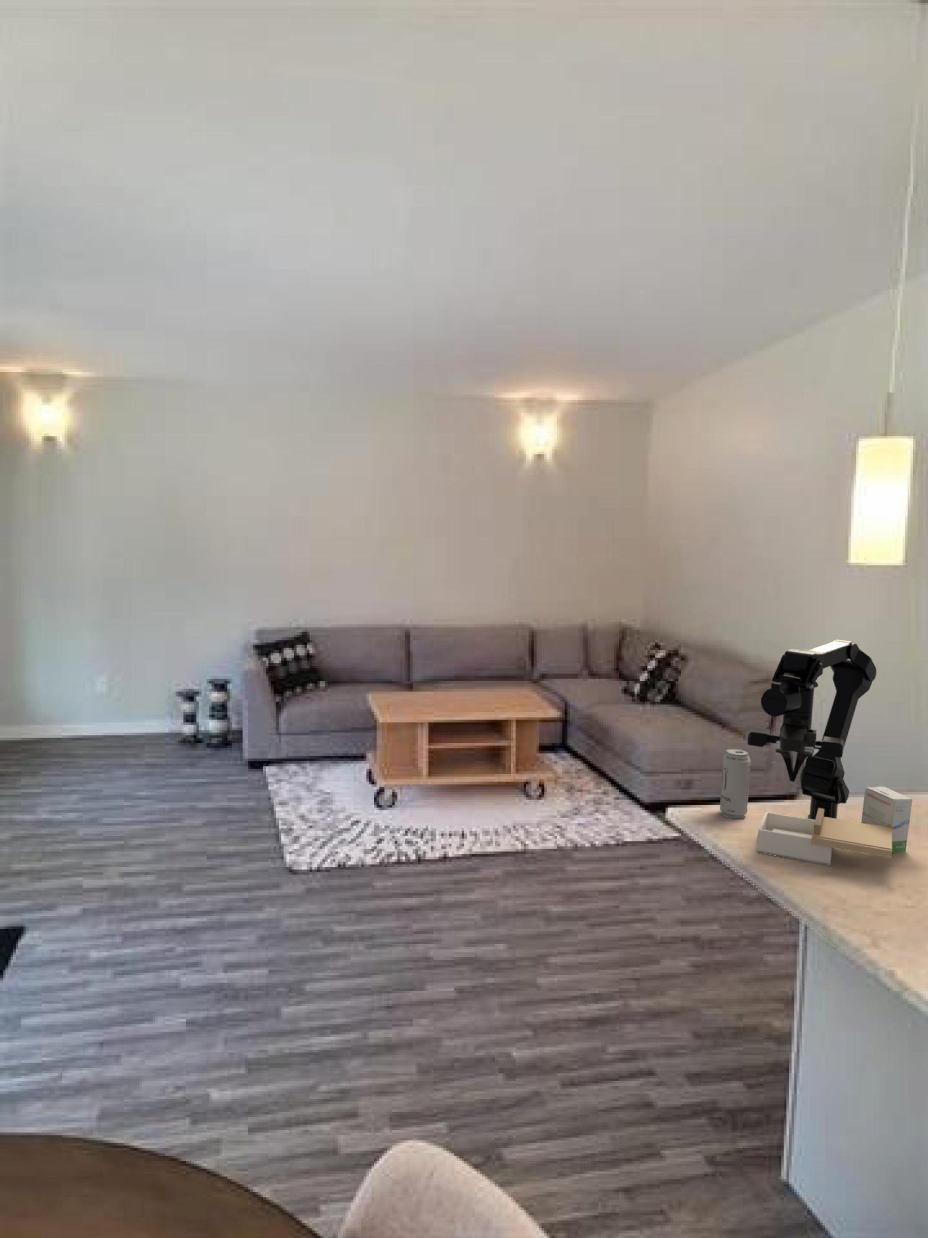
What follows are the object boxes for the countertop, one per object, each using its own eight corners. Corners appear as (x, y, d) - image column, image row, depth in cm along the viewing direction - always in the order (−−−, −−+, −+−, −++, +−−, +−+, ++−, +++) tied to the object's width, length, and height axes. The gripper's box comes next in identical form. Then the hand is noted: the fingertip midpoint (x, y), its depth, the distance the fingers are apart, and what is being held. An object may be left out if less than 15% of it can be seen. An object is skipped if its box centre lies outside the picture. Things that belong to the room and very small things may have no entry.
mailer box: (764, 833, 192) (765, 811, 191) (833, 846, 186) (835, 823, 185) (756, 852, 181) (758, 829, 180) (829, 866, 175) (831, 842, 174)
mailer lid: (816, 821, 188) (817, 805, 187) (891, 834, 181) (892, 817, 181) (811, 844, 175) (812, 826, 175) (891, 858, 169) (892, 840, 168)
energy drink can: (716, 810, 206) (720, 748, 204) (741, 810, 206) (745, 748, 204) (724, 819, 200) (728, 755, 198) (750, 819, 200) (755, 755, 198)
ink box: (858, 839, 190) (863, 786, 188) (877, 837, 191) (882, 785, 190) (888, 854, 182) (893, 799, 180) (908, 852, 183) (913, 798, 182)
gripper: (746, 711, 182) (741, 784, 184) (844, 723, 174) (837, 799, 176) (753, 701, 192) (749, 770, 194) (846, 712, 184) (840, 784, 186)
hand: (792, 781), depth 187 cm, fingers closed
